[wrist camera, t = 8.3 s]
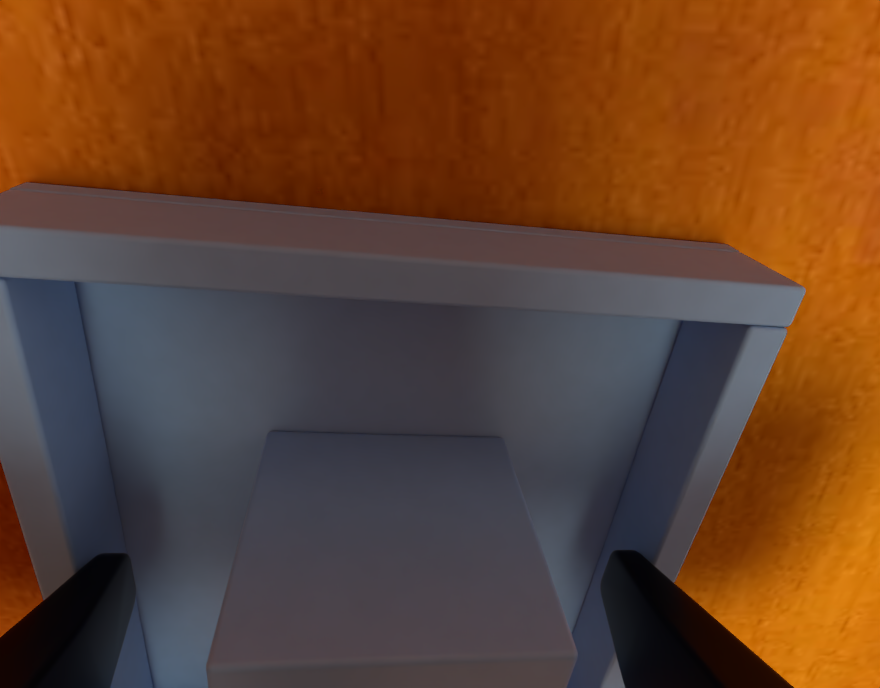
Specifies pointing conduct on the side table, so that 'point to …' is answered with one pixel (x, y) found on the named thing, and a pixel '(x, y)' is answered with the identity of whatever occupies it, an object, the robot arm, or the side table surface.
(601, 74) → the side table surface
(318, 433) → the gray block
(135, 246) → the blue tray
